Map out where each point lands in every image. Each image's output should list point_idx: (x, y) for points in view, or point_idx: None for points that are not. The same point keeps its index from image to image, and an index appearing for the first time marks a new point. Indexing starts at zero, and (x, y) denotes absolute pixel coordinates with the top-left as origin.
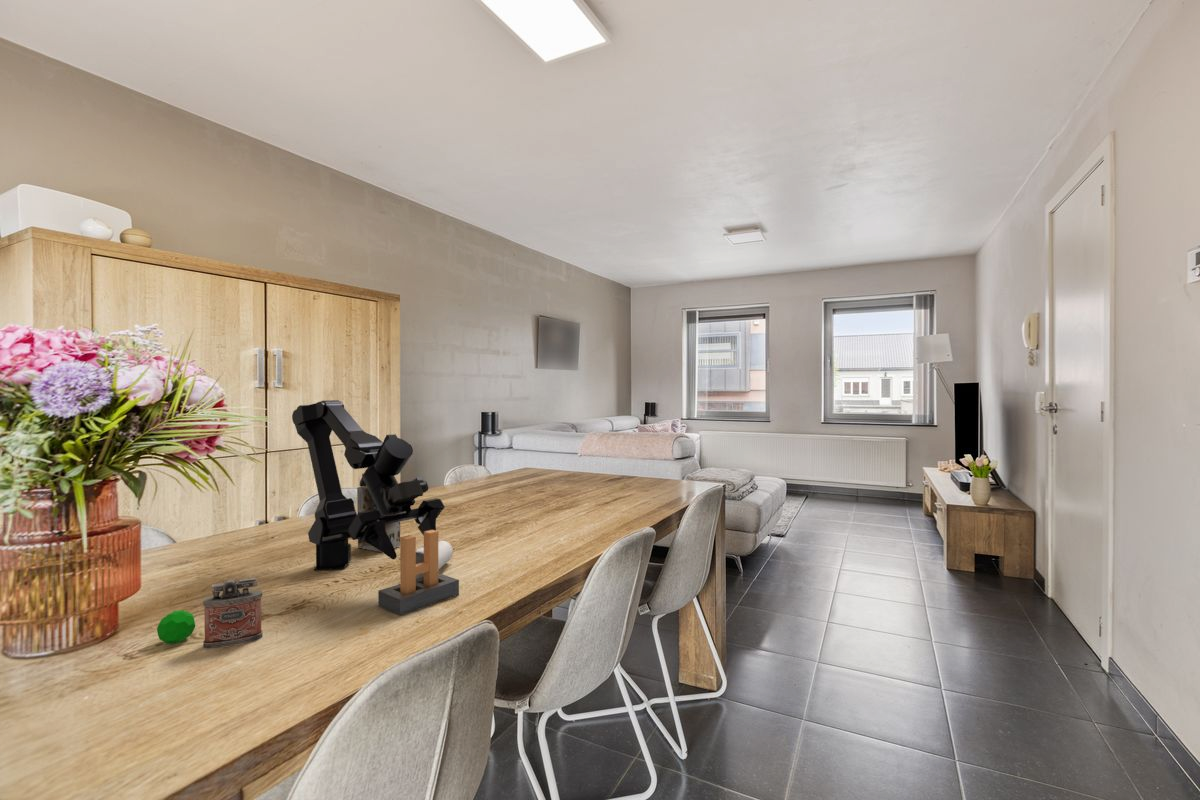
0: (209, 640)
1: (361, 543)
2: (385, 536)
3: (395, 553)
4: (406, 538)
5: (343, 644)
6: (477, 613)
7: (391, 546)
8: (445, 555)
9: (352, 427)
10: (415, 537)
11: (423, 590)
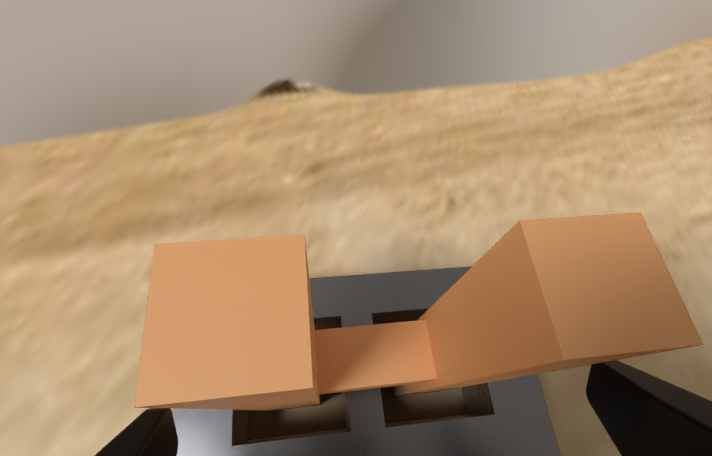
0: None
1: None
2: None
3: (620, 369)
4: (638, 226)
5: (672, 222)
6: (283, 129)
7: (708, 417)
8: None
9: None
10: (518, 224)
11: (385, 286)
